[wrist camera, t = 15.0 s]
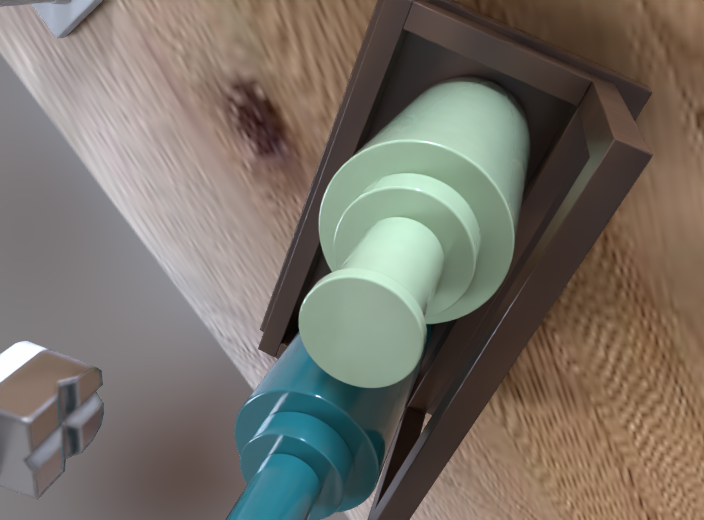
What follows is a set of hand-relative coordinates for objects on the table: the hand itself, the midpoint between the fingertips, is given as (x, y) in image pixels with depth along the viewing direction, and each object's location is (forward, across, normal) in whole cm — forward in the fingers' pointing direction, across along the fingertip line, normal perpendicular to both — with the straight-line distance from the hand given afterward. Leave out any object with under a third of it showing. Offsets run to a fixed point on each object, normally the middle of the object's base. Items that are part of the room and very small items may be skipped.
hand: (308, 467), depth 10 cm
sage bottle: (+22, 0, 0) cm, 22 cm away
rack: (+24, +1, +6) cm, 25 cm away
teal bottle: (+22, +2, +11) cm, 25 cm away
